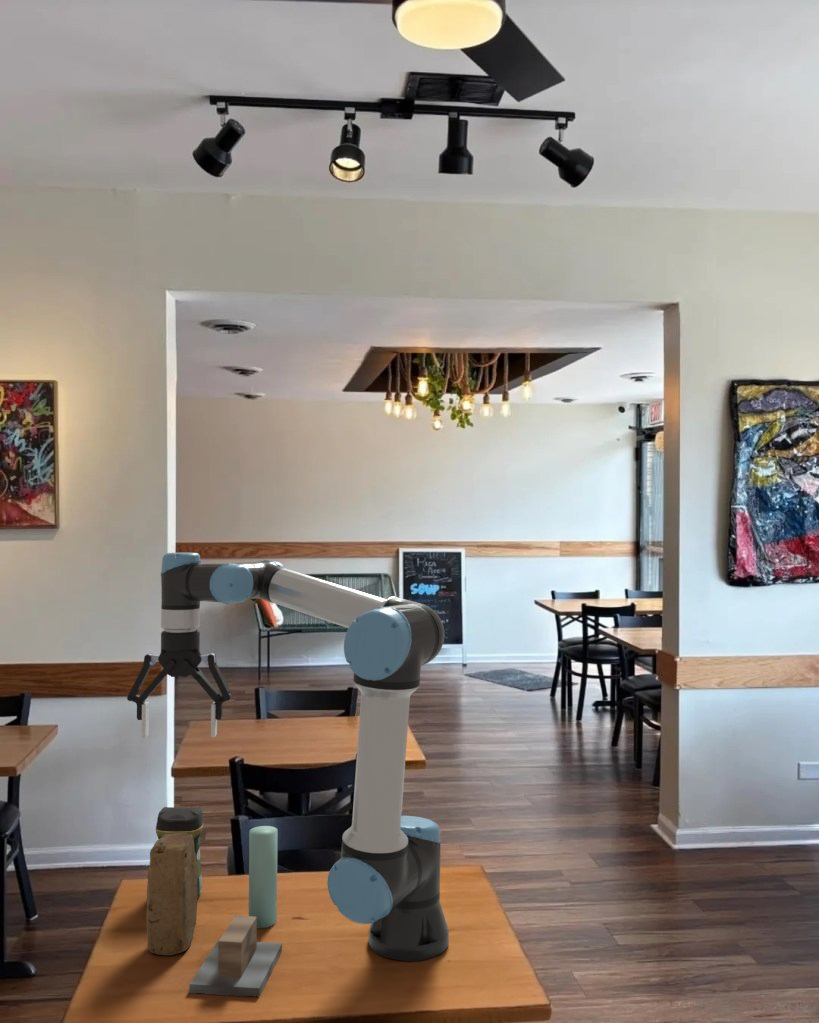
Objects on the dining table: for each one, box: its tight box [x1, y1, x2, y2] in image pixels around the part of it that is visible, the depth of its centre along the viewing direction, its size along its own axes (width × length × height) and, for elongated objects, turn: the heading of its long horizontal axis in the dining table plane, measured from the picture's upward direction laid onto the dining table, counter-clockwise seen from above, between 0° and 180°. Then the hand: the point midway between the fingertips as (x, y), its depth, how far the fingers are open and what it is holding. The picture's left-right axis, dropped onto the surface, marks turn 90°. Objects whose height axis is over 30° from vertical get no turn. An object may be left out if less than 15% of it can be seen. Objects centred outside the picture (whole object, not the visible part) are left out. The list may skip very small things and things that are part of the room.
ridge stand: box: [188, 915, 283, 998], centre depth 158 cm, size 16×12×8 cm
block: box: [146, 833, 198, 956], centre depth 168 cm, size 11×8×20 cm
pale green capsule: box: [248, 825, 279, 929], centre depth 178 cm, size 6×6×18 cm
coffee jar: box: [155, 806, 204, 898], centre depth 189 cm, size 10×8×19 cm
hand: (179, 736), depth 179 cm, fingers open, 13 cm apart
